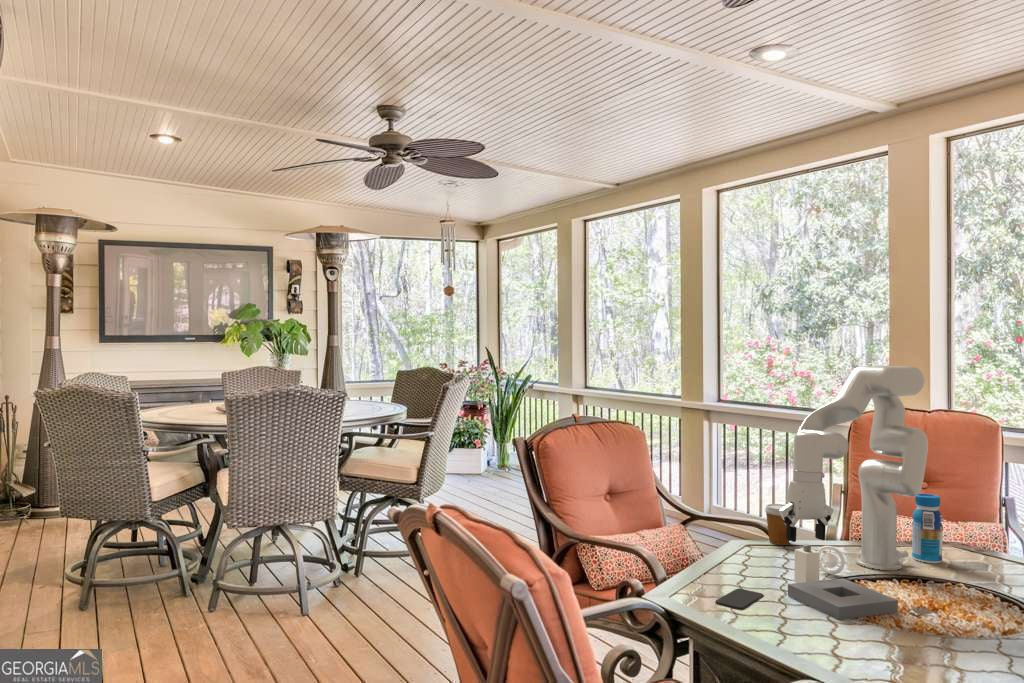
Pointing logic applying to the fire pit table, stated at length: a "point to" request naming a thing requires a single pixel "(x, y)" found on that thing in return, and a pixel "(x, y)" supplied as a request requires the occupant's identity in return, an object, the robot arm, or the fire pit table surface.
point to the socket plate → (842, 598)
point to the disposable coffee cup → (776, 524)
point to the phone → (739, 599)
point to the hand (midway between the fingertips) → (805, 539)
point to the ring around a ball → (831, 560)
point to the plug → (806, 564)
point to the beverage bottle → (927, 529)
